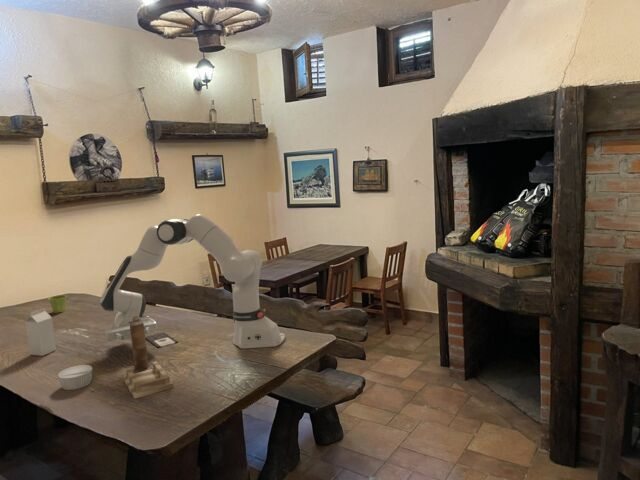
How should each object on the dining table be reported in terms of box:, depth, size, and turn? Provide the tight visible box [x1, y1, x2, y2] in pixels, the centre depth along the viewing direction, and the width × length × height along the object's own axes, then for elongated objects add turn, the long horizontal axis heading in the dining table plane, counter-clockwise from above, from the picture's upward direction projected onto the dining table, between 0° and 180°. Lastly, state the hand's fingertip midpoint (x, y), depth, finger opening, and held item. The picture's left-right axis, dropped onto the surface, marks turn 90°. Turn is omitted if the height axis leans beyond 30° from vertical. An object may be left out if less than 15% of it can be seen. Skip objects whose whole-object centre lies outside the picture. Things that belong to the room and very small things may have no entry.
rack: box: [123, 361, 175, 399], centre depth 165 cm, size 18×13×4 cm
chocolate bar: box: [145, 331, 179, 349], centre depth 211 cm, size 9×1×18 cm
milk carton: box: [24, 307, 57, 357], centre depth 203 cm, size 7×7×19 cm
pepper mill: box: [130, 316, 149, 371], centre depth 180 cm, size 5×5×20 cm
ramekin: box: [57, 364, 93, 391], centre depth 168 cm, size 11×11×5 cm
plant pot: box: [47, 294, 68, 314], centre depth 271 cm, size 9×9×9 cm
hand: (134, 335), depth 189 cm, fingers open, 8 cm apart
